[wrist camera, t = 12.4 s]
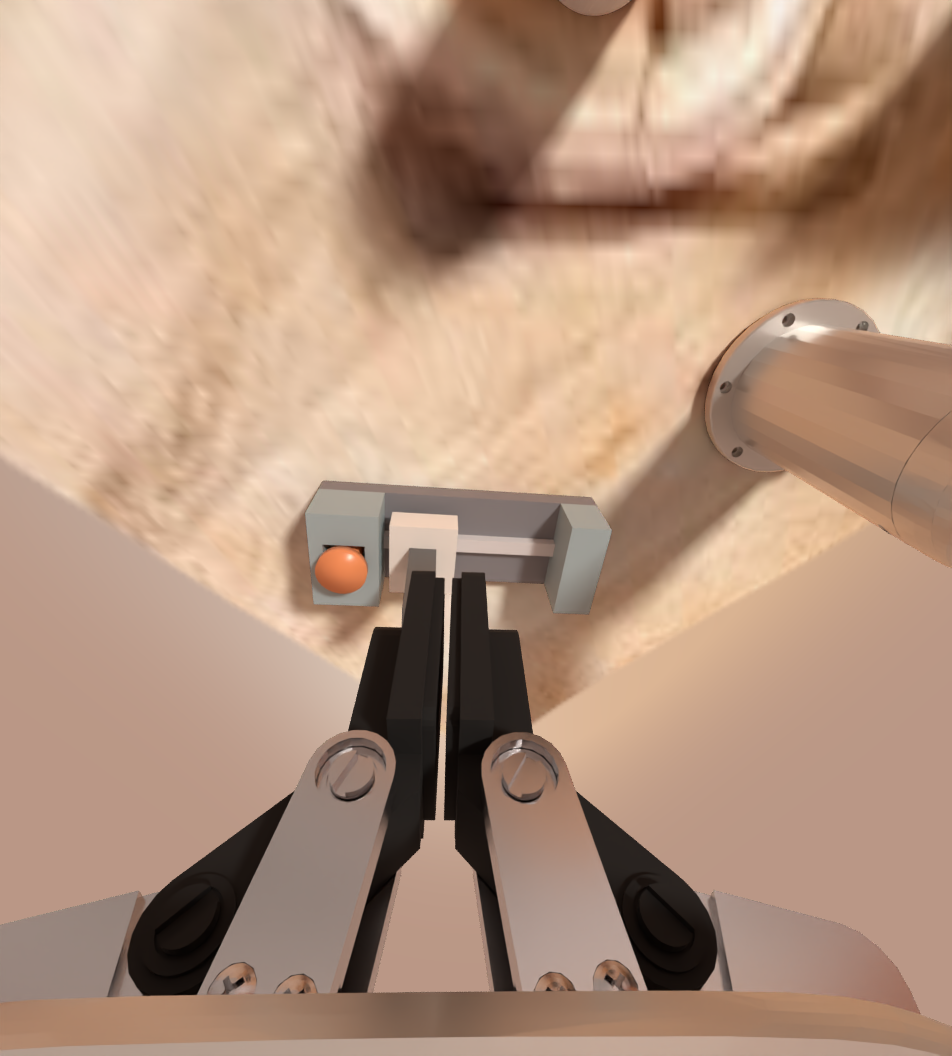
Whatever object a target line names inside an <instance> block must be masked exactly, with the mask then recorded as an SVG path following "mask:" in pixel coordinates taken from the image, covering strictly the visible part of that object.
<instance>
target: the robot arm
mask: <svg viewBox="0 0 952 1056" xmlns="http://www.w3.org/2000/svg"><path fill="white" fill-rule="evenodd" d="M721 385H722V386H721ZM720 386H721V387H720ZM705 422H706V427H707V432H708V434H709V436H710V439H711V441H712V443H713V445H714V446H715V447H716V448H717V450H718V451H719V452H720V453H721V454H722V455H723V456H724V457H726V458H727V459H728V460H730V461H731V462H733V463H735V464H736V465H738V466H740V467H742V468H745V469H749V470H752V471H758V472H775V471H784V470H786V471H788V472H790V473H791V474H793V475H795V476H796V477H798V478H799V479H801V480H803V481H804V482H806V483H808V484H809V485H811V486H813V487H814V488H816V489H817V490H819V491H821V492H822V493H824V494H826V495H827V496H829V497H830V498H832V499H834V500H835V501H837V502H839V503H840V504H842V505H844V506H845V507H847V508H848V509H850V510H852V511H853V512H855V513H857V514H858V515H860V516H862V517H863V518H865V519H866V520H868V521H870V522H871V523H873V524H875V525H876V526H878V527H880V528H881V529H883V530H884V531H886V532H888V533H889V534H891V535H893V536H894V537H896V538H898V539H899V540H901V541H903V542H904V543H906V544H908V545H910V546H911V547H913V548H915V549H917V550H918V551H920V552H921V553H923V554H925V555H926V556H928V557H930V558H932V559H933V560H935V561H937V562H939V563H941V564H943V565H945V566H947V567H950V568H952V345H948V344H942V343H936V342H930V341H924V340H918V339H911V338H905V337H899V336H893V335H887V334H881V333H880V332H879V330H878V328H877V326H876V324H875V322H874V320H873V319H872V318H871V317H870V316H869V315H868V314H867V313H866V312H865V311H864V310H862V309H860V308H859V307H857V306H855V305H853V304H851V303H848V302H844V301H840V300H836V299H823V298H815V299H806V300H800V301H797V302H793V303H790V304H787V305H784V306H782V307H780V308H778V309H776V310H774V311H772V312H770V313H768V314H766V315H765V316H763V317H762V318H760V319H759V320H758V321H756V322H755V323H753V324H752V325H751V326H749V327H748V328H747V329H746V330H745V331H744V332H743V333H742V334H741V335H740V336H739V337H738V338H737V339H736V340H735V341H734V343H733V344H732V345H731V346H730V348H729V349H728V350H727V352H726V353H725V354H724V355H723V357H722V359H721V361H720V363H719V364H718V366H717V368H716V370H715V371H714V374H713V377H712V379H711V382H710V384H709V387H708V391H707V396H706V401H705ZM444 598H445V578H438V577H436V571H412V573H411V579H410V585H409V591H408V596H407V602H406V608H405V614H404V620H403V625H402V628H395V627H375V629H374V631H373V634H372V637H371V641H370V645H369V649H368V653H367V657H366V661H365V665H364V669H363V673H362V677H361V681H360V685H359V690H358V694H357V697H356V702H355V706H354V709H353V714H352V717H351V721H350V725H349V729H348V732H344V733H340V734H338V735H336V736H334V737H332V738H330V739H329V740H327V741H326V742H325V743H323V744H322V745H321V746H320V747H319V748H318V749H317V750H316V751H315V753H314V754H313V756H312V757H311V759H310V760H309V762H308V764H307V766H306V768H305V770H304V772H303V774H302V776H301V779H300V781H299V783H298V785H297V787H296V789H295V791H294V792H292V793H291V794H290V795H288V796H287V797H286V798H284V799H283V800H282V801H280V802H279V803H277V804H276V805H275V806H273V807H272V808H271V809H269V810H268V811H266V812H265V813H264V814H263V815H261V816H260V817H258V818H257V819H255V820H254V821H253V822H252V823H250V824H249V825H247V826H246V827H245V828H243V829H242V830H240V831H239V832H238V833H236V834H235V835H234V836H232V837H231V838H230V839H228V840H227V841H226V842H224V843H223V844H221V845H220V846H219V847H217V848H216V849H215V850H213V851H212V852H211V853H209V854H208V855H206V856H205V857H204V858H202V859H201V860H200V861H198V862H197V863H196V864H194V865H193V866H191V867H190V868H189V869H187V870H186V871H185V872H183V873H182V874H180V875H179V876H178V877H176V878H175V879H174V880H172V881H171V882H170V883H169V884H168V885H167V886H166V887H165V888H163V889H162V890H161V891H160V892H157V893H153V894H150V895H145V896H142V895H141V893H140V892H139V891H135V892H132V893H128V894H124V895H120V896H115V897H111V898H107V899H103V900H99V901H95V902H91V903H87V904H83V905H79V906H75V907H71V908H67V909H63V910H58V911H54V912H50V913H46V914H43V915H38V916H35V917H30V918H26V919H22V920H18V921H14V922H10V923H6V924H2V925H0V1056H952V1026H949V1025H946V1024H944V1023H941V1022H939V1021H936V1020H934V1019H931V1018H928V1017H926V1016H923V1015H921V1014H920V1011H919V1009H918V1007H917V1004H916V1002H915V1000H914V998H913V995H912V993H911V991H910V989H909V988H908V986H907V984H906V982H905V980H904V979H903V977H902V975H901V973H900V972H899V970H898V968H897V967H896V966H895V965H894V964H893V962H892V961H891V960H890V959H889V958H888V957H887V956H886V955H885V953H884V952H883V951H882V950H881V949H880V948H879V947H878V946H877V945H876V944H874V943H873V942H872V941H870V940H869V939H868V938H867V937H865V936H864V935H863V934H861V933H860V932H858V931H856V930H853V929H851V928H849V927H847V926H845V925H842V924H840V923H836V922H832V921H828V920H825V919H821V918H817V917H813V916H809V915H806V914H802V913H798V912H795V911H791V910H787V909H783V908H779V907H775V906H771V905H768V904H764V903H761V902H757V901H753V900H749V899H745V898H742V897H738V896H734V895H730V894H727V893H723V892H719V891H715V890H714V891H713V892H712V894H711V895H707V894H704V893H700V892H696V891H693V890H692V889H691V888H690V887H689V886H688V884H687V883H685V881H684V880H682V879H681V878H680V877H679V876H678V875H677V874H675V873H674V872H673V871H672V870H671V869H669V868H668V867H667V866H666V865H664V864H663V863H662V862H661V861H659V860H658V859H657V858H656V857H655V856H654V855H652V854H651V853H650V852H649V851H648V850H646V849H645V848H644V847H643V846H641V845H640V844H639V843H638V842H637V841H636V840H634V839H633V838H632V837H631V836H629V835H628V834H627V833H626V832H625V831H623V830H622V829H621V828H620V827H619V826H617V825H616V824H615V823H614V822H613V821H611V820H610V819H609V818H608V817H607V816H605V815H604V814H603V813H602V812H601V811H599V810H598V809H597V808H596V807H595V806H593V805H592V804H591V803H590V802H589V801H587V800H586V799H585V798H584V797H583V796H581V795H580V794H579V793H578V792H576V790H575V788H574V785H573V782H572V779H571V776H570V774H569V771H568V768H567V765H566V763H565V761H564V759H563V757H562V756H561V754H560V752H559V751H558V750H557V749H556V748H555V747H554V746H553V745H552V744H551V743H550V742H548V741H546V740H545V739H543V738H542V737H540V736H537V735H534V734H533V730H532V723H531V716H530V710H529V703H528V696H527V689H526V682H525V675H524V668H523V661H522V654H521V647H520V640H519V634H518V631H517V630H489V628H488V612H487V596H486V581H485V573H484V572H462V574H461V578H452V596H451V620H450V645H449V669H448V693H447V720H446V762H445V803H444V820H455V849H456V850H457V851H458V852H459V853H460V854H461V855H462V857H463V858H464V859H465V860H466V861H467V862H468V863H469V864H470V865H471V866H472V868H473V879H474V886H475V892H476V899H477V907H478V914H479V921H480V928H481V935H482V940H483V948H484V955H485V962H486V969H487V976H488V983H489V990H490V992H405V993H404V992H403V993H373V990H374V986H375V982H376V977H377V974H378V969H379V965H380V961H381V957H382V953H383V948H384V944H385V940H386V936H387V931H388V927H389V923H390V919H391V914H392V910H393V906H394V902H395V898H396V894H397V889H398V885H399V881H400V876H401V868H402V866H403V865H404V864H405V863H406V862H407V861H408V860H409V859H410V858H411V857H412V856H413V855H414V854H415V853H416V852H417V851H418V850H419V849H420V841H421V839H422V838H423V833H424V820H435V813H436V812H435V811H436V795H437V794H436V793H437V776H438V758H439V739H440V721H441V702H442V684H443V656H444Z"/></svg>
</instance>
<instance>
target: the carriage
mask: <svg viewBox="0 0 952 1056" xmlns="http://www.w3.org/2000/svg"><path fill="white" fill-rule="evenodd" d="M457 538H458V516H457V515H439V514H422V513H404V512H392V516H391V521H390V526H389V592H399V593H404V598H403V606H402V625H403V620H404V614H405V608H406V602H407V596H408V591H409V585H410V579H411V573H412V571H436V577H438V578H445V594H448V595H452V578H454V572H455V560H456V549H457Z"/></svg>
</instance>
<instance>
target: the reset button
mask: <svg viewBox="0 0 952 1056" xmlns="http://www.w3.org/2000/svg"><path fill="white" fill-rule="evenodd" d="M364 548H365V547H361V546H341V545H335V546H334V547H332V548H329V549H327V550H325V551H324V552H323V553H322V554H321V555H320V557H319V559H318V561H317V564H316V567H315V575H316V578H317V580H318V582H319V583H320V584H321V585H322V586H323V587H324V588H326V589H327V590H329V591H332V592H335V593H340V594H347V593H352V592H355V591H357V590H358V589H360V588H361V587H362V586H363V584H364V583H365V581H366V577H367V573H368V564H367V562H366V560H365V558H364V557H363V551H364Z"/></svg>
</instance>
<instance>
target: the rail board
mask: <svg viewBox="0 0 952 1056" xmlns="http://www.w3.org/2000/svg"><path fill="white" fill-rule="evenodd" d="M392 512H404V513H422V514H439V515H457V516H458V538H457V549H456V560H455V572H454V578H461V574H462V572H484V573H485V581H493V582H516V583H539V584H544V585H545V588H546V591H547V594H548V598H549V601H550V604H551V607H552V611H553V613H564V614H589V612H590V609H591V605H592V602H593V598H594V594H595V591H596V587H597V583H598V580H599V576H600V573H601V569H602V565H603V562H604V558H605V554H606V551H607V547H608V543H609V540H610V536H611V533H612V529H611V528H610V526H609V524H608V523H607V521H606V520H605V518H604V516H603V515H602V513H601V512H600V510H599V508H598V507H597V505H596V504H595V502H594V500H593V499H592V498H591V497H575V496H559V495H543V494H527V493H511V492H495V491H479V490H463V489H447V488H432V487H416V486H400V485H384V484H368V483H352V482H336V481H323V482H322V484H321V485H320V487H319V489H318V491H317V493H316V494H315V496H314V498H313V500H312V501H311V503H310V505H309V507H308V509H307V510H306V512H305V518H306V528H307V539H308V549H309V560H310V570H311V581H312V591H313V602H314V604H323V605H349V606H376V607H379V604H380V599H381V594H382V589H383V584H384V578H385V577H389V526H390V521H391V516H392ZM335 545H341V546H361V547H365V548H364V551H363V557H364V558H365V560H366V562H367V564H368V573H367V577H366V581H365V583H364V584H363V586H362V587H361V588H360V589H358V590H357V591H355V592H352V593H347V594H340V593H335V592H332V591H329V590H327V589H326V588H324V587H323V586H322V585H321V584H320V583H319V582H318V580H317V578H316V575H315V567H316V564H317V561H318V559H319V557H320V555H321V554H322V553H323V552H324V551H325V550H327V549H329V548H332V547H334V546H335Z"/></svg>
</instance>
